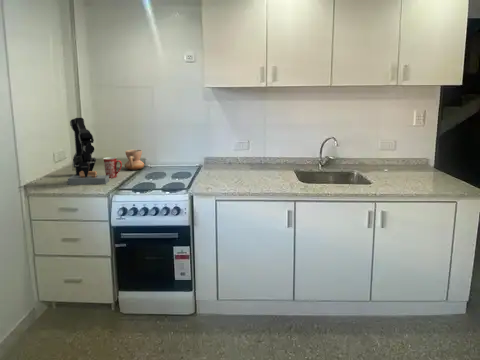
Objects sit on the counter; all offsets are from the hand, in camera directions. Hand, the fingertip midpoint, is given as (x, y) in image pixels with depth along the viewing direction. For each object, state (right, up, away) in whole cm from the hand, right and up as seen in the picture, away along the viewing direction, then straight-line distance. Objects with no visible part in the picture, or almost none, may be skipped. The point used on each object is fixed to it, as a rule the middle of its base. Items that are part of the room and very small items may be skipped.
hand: (88, 175), depth 291 cm
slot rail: (0, -5, +1) cm, 5 cm away
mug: (+11, -1, +18) cm, 21 cm away
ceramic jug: (+19, +5, +45) cm, 49 cm away
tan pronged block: (0, -4, +1) cm, 4 cm away
